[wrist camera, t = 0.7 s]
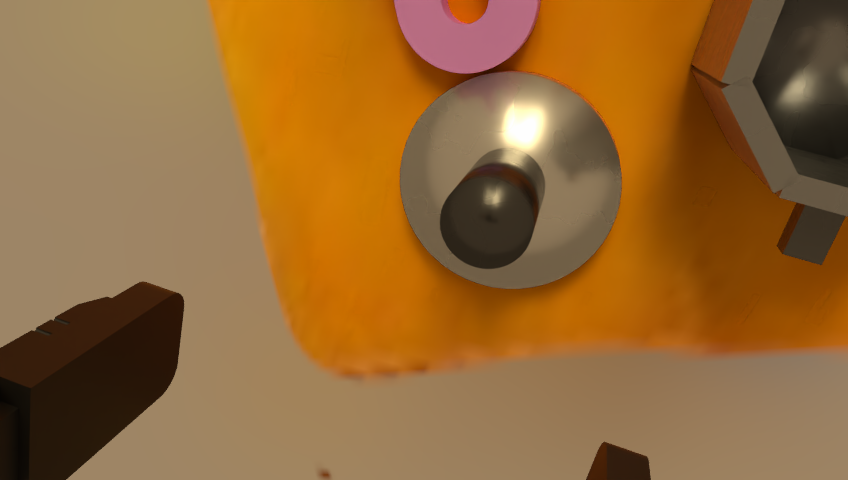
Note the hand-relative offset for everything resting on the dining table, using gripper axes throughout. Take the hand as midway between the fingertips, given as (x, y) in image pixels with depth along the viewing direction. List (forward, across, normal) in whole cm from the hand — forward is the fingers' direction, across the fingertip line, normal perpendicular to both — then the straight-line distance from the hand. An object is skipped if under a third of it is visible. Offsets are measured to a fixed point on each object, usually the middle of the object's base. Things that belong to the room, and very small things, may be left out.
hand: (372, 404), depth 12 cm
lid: (+18, 0, 0) cm, 18 cm away
